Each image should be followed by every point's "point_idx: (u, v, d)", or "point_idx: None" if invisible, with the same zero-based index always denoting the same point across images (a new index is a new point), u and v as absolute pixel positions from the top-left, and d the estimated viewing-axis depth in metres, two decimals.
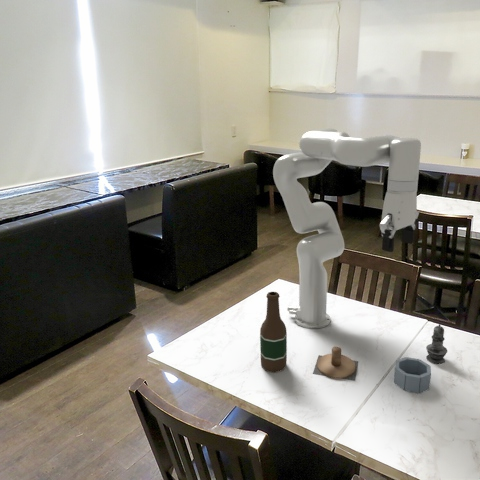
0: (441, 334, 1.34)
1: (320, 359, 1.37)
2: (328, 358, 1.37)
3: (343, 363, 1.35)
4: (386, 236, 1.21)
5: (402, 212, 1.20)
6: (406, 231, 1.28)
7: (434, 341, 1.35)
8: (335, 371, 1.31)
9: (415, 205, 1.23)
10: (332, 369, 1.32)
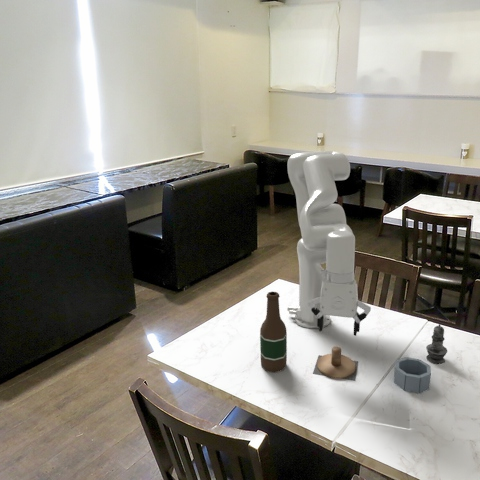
0: (441, 334, 1.34)
1: (320, 359, 1.37)
2: (328, 358, 1.37)
3: (343, 363, 1.35)
4: None
5: None
6: (322, 319, 1.31)
7: (434, 341, 1.35)
8: (335, 371, 1.31)
9: None
10: (332, 369, 1.32)
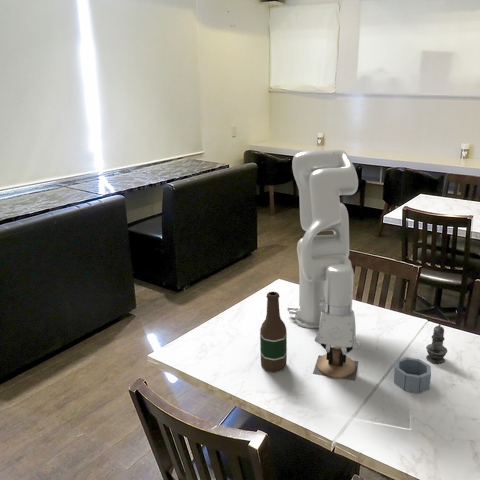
0: (441, 334, 1.34)
1: (320, 359, 1.37)
2: None
3: (343, 363, 1.35)
4: None
5: None
6: (331, 352, 1.34)
7: (434, 341, 1.35)
8: (335, 371, 1.31)
9: None
10: (332, 369, 1.32)
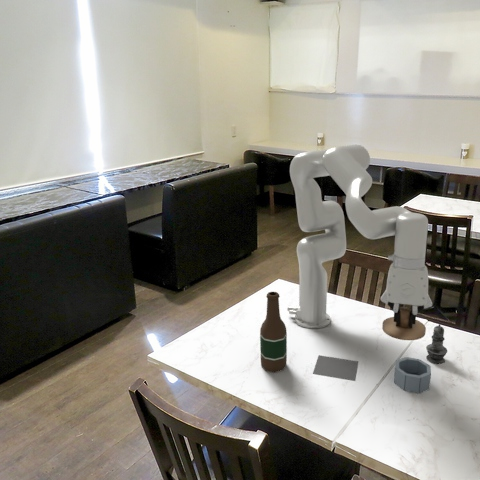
0: (441, 334, 1.34)
1: (385, 321, 1.26)
2: (393, 321, 1.26)
3: None
4: None
5: None
6: (399, 313, 1.22)
7: (434, 341, 1.35)
8: (404, 333, 1.19)
9: None
10: (401, 331, 1.20)
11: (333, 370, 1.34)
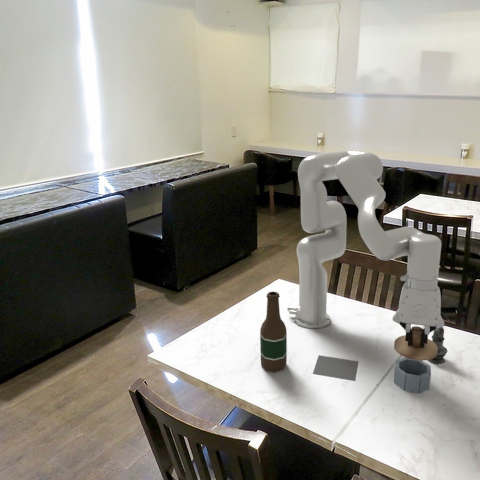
0: (441, 334, 1.34)
1: (397, 340, 1.26)
2: None
3: None
4: None
5: None
6: (411, 333, 1.23)
7: (434, 341, 1.35)
8: (417, 353, 1.20)
9: None
10: (414, 351, 1.21)
11: (333, 370, 1.34)
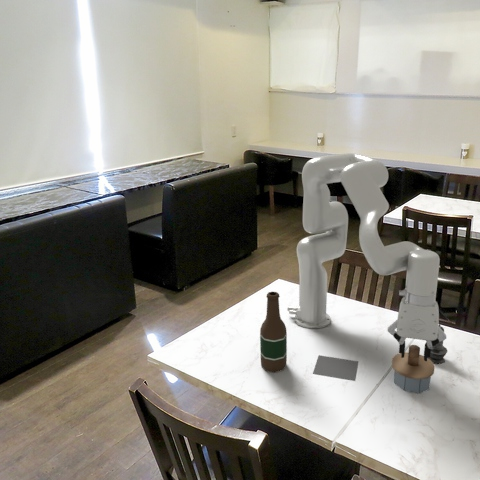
0: None
1: (394, 358, 1.28)
2: (402, 358, 1.28)
3: (420, 362, 1.26)
4: None
5: None
6: None
7: None
8: (414, 371, 1.22)
9: None
10: (411, 369, 1.23)
11: (333, 370, 1.34)
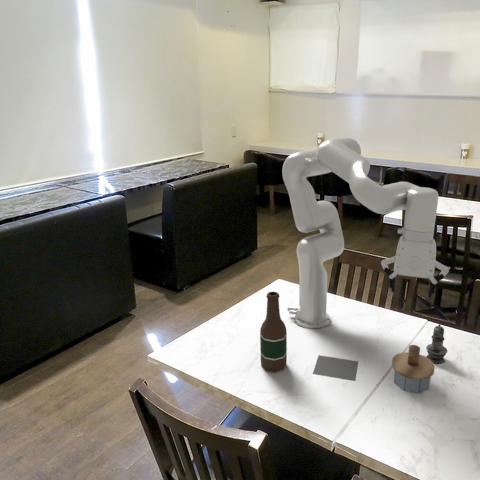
0: (441, 334, 1.34)
1: (394, 358, 1.28)
2: (402, 358, 1.28)
3: (420, 362, 1.26)
4: None
5: None
6: None
7: (434, 341, 1.35)
8: (414, 371, 1.22)
9: None
10: (411, 369, 1.23)
11: (333, 370, 1.34)
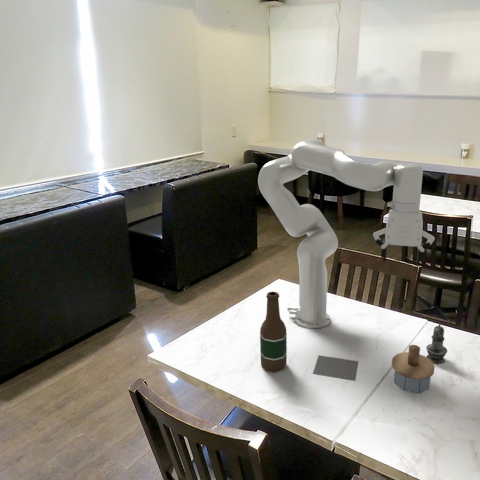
0: (441, 334, 1.34)
1: (394, 358, 1.28)
2: (402, 358, 1.28)
3: (420, 362, 1.26)
4: None
5: None
6: (386, 250, 1.38)
7: (434, 341, 1.35)
8: (414, 371, 1.22)
9: None
10: (411, 369, 1.23)
11: (333, 370, 1.34)
